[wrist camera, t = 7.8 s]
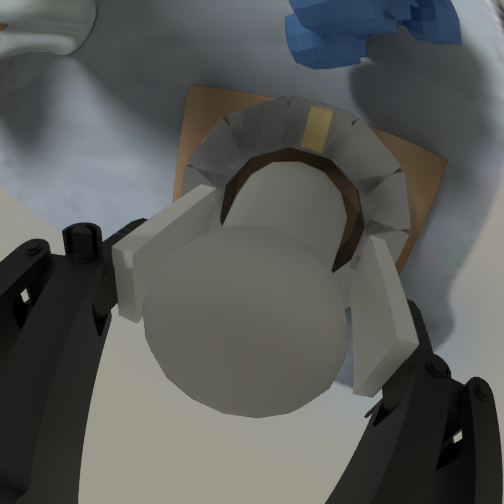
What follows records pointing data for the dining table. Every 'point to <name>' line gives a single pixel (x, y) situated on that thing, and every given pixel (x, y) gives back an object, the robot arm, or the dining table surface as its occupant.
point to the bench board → (312, 159)
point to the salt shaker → (256, 299)
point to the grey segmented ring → (316, 142)
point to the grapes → (362, 27)
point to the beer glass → (44, 25)
